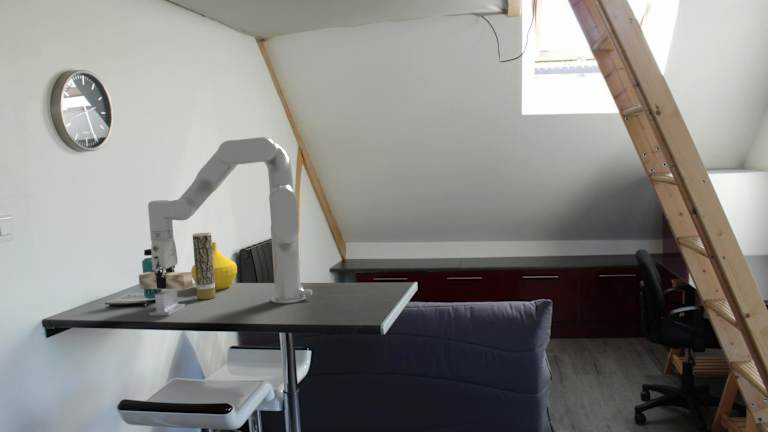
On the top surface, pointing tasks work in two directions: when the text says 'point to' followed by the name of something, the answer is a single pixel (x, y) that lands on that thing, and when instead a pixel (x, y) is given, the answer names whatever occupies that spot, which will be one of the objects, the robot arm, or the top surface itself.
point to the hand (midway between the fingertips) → (166, 285)
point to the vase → (221, 269)
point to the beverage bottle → (148, 268)
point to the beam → (172, 280)
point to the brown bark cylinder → (204, 265)
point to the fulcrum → (167, 302)
